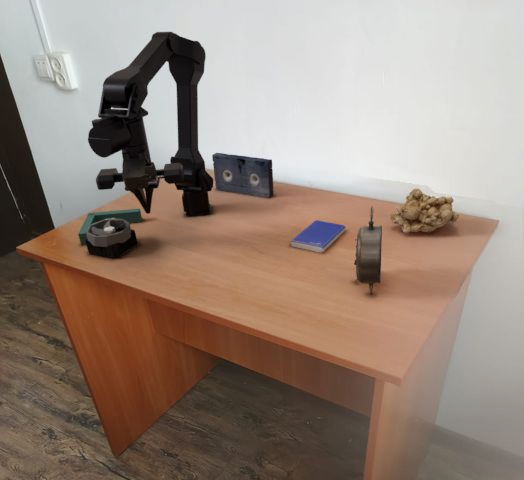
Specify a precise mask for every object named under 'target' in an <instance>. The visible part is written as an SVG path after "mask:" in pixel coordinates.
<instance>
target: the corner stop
mask: <svg viewBox="0 0 524 480" xmlns="http://www.w3.org/2000/svg"><path fill="white" fill-rule="evenodd" d="M107 218H116V219H123V220H125V221H127V222H129V224H134V223H142V222H143V217H142V212H141V208H130V209H117V210H107V211H106V210H105V211H95V212H94V211H93V212H88V213H87V215H86V217H85V219H84V221H83V223H82V225H81V227H80V229H79V231H78V233H77V235H78V239H79V242H80V245H81V246H86V241H85V239H87V234H86V229H87V228H88V227H89V226H90V225H91V224H93V223H96V222H99V221H102V220H104V219H107Z"/></svg>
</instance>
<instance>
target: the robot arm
mask: <svg viewBox="0 0 524 480" xmlns="http://www.w3.org/2000/svg"><path fill="white" fill-rule="evenodd" d="M206 58H207V55H206V50H205V48H204V46H203V45H202V44H201V43H200V41H198V40H192V39H189V38H186V37H183V36H180V35H179V34H177V33H175V32H173V31H156V32H154V33H153V34H152V35H151V39H150V40H149V41H148V43H147V44H146V45H145V46H144V47H143V49H142V50H141V51H139V53H138V54H137V56H135V58H134V59H133V60H132V61H131V62H130V64H129V65H128V66H126V67H125V68H122V69H119V70H117V71H114V72H113V73H111V74H110V75H109V76H107V77H106V78H105V79H104V81H103V83H102V90H101V97H100V101H99V108H98V114H97V116H98V118H95V119H92V120H91V125H92V127H91V128H90V129H89V131H88V136H87V142H88V145H89V147H90V149H91V150H92V152H93V153H94V154H95V155H96V156H98V157H100V158H102V159H103V158H108V157H110V156H112V155H115V154H117V153H118V152H121V156H122V170H121V172H119V171H118V168H115V167H113V168H112V167H111V168H102V169H100V170H99V172H98V173H97V175H96V177H95V184H96V187H97V190H100V191H103V190H112V189H113V188H114V187H115V185H116V183H124V191H126V192H130V193H131V194H133V195H134V196H135V197H136V199H137V201H138V202H139V204H140V205H141V207H142V209H143V211H144V212H145V214H146V215H149V214H151V210H152V202H153V194H154V189H155V190H156V189H159V185H160V181H161V179H164V181H165V182H166V183H167V184H168V185H173V184H174V185H175V188H176V190H177V191H182V194H181V200H182V201H181V202H182V208H183V212H184V213H185V216H186V217H195V216H205V215H207V216H208V215H211V204H210V197H209V192H212V189H213V188H214V177H212V175H210V174H209V173H208V171H207V170H206V162H205V159H204V158H203V156H202V154H201V151H200V150H199V113H198V112H199V109H198V108H199V106H198V105H199V104H198V102H199V101H198V99H199V98H198V93H199V92H198V86H199V83H200V81H201V79H202V77H203V75H204V73H205V63H206ZM166 63H168V70H169V73H170V75H171V77H172V78H173V80H174V82H175V87H176V115H177V117H176V118H177V119H176V120H177V150H176V153H175V154H174V156H171V157H170V159H169V161H170V163H164V166H163V168H161V169H160V168H159V169H157V167H156V165H155V163H154V161H152V158H151V153H150V147H149V143H148V137H147V131H146V127H145V121H144V117H146V116H149V111H148V110H147V109H145V108H143V107H142V106H143V104H144V102H145V100H146V98H147V96H148V94H149V91H148V90H149V89H148V86H149V84H150V83H151V82H152V80H153V79H154V78H155V76H157V74H158V73H159V71H160V70H161V69H162V67H163V66H164V65H165V64H166Z"/></svg>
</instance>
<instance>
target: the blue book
mask: <svg viewBox="0 0 524 480" xmlns="http://www.w3.org/2000/svg"><path fill="white" fill-rule="evenodd" d="M345 231H346V226H345V225H344V224H340V223H333V222H328V221H323V220H314V221H313V222H311V224H309V225H308V226H307V227H305V228H304V229H303V230H302V231H301V232H300V233H298V234H297V235H296V236H295V237H294V238H292V239H291V240H290V246H291V247H293V248H297V249H302V250H306V251H311V252H315V253H319V254H320V253H324V252H325V251H326V250H327V249H328V248H329V247H330V246H331V245H332V244H333V243H334V242H335V241H336V240H337V239H338V238H339V237H340V236H342V234H343V233H345Z"/></svg>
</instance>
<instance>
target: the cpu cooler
mask: <svg viewBox="0 0 524 480" xmlns="http://www.w3.org/2000/svg"><path fill="white" fill-rule="evenodd" d="M86 234H87V239H85V241H86V245H85V246H86V249H87V252H88V254H90V255H94V256H100V257H103V258H111V259H115V258H116V257H117V258H120V257H121V256H123V255H124V254H126V253H127V252H128V251H129V250H131V249H132V248H134V247H135V246H137V245H138V244H139V243H138V238H137V234H136V231H135V229H132V228H131V223H129V222H127V221H125V220H123V219H116V218H107V219H104V220H102V221H99V222H96V223H93V224H91V225H90V226H89V227H88V228H87V229H86Z"/></svg>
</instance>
